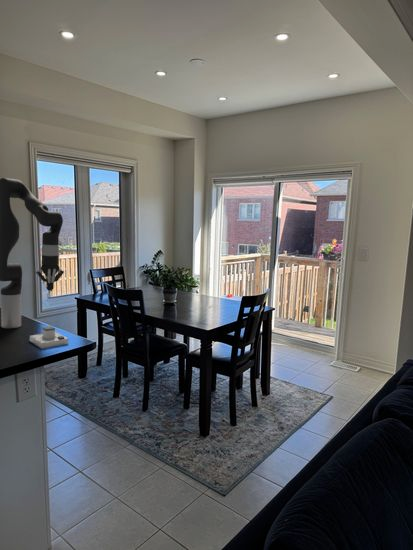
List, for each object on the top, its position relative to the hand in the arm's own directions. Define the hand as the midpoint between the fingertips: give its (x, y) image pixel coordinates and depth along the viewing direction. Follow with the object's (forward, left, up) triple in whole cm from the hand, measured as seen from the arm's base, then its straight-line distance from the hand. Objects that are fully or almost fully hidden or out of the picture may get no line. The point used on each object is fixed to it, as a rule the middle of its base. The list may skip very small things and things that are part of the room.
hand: (49, 290), depth 181 cm
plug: (+9, -4, -23) cm, 25 cm away
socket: (+9, -4, -23) cm, 25 cm away
